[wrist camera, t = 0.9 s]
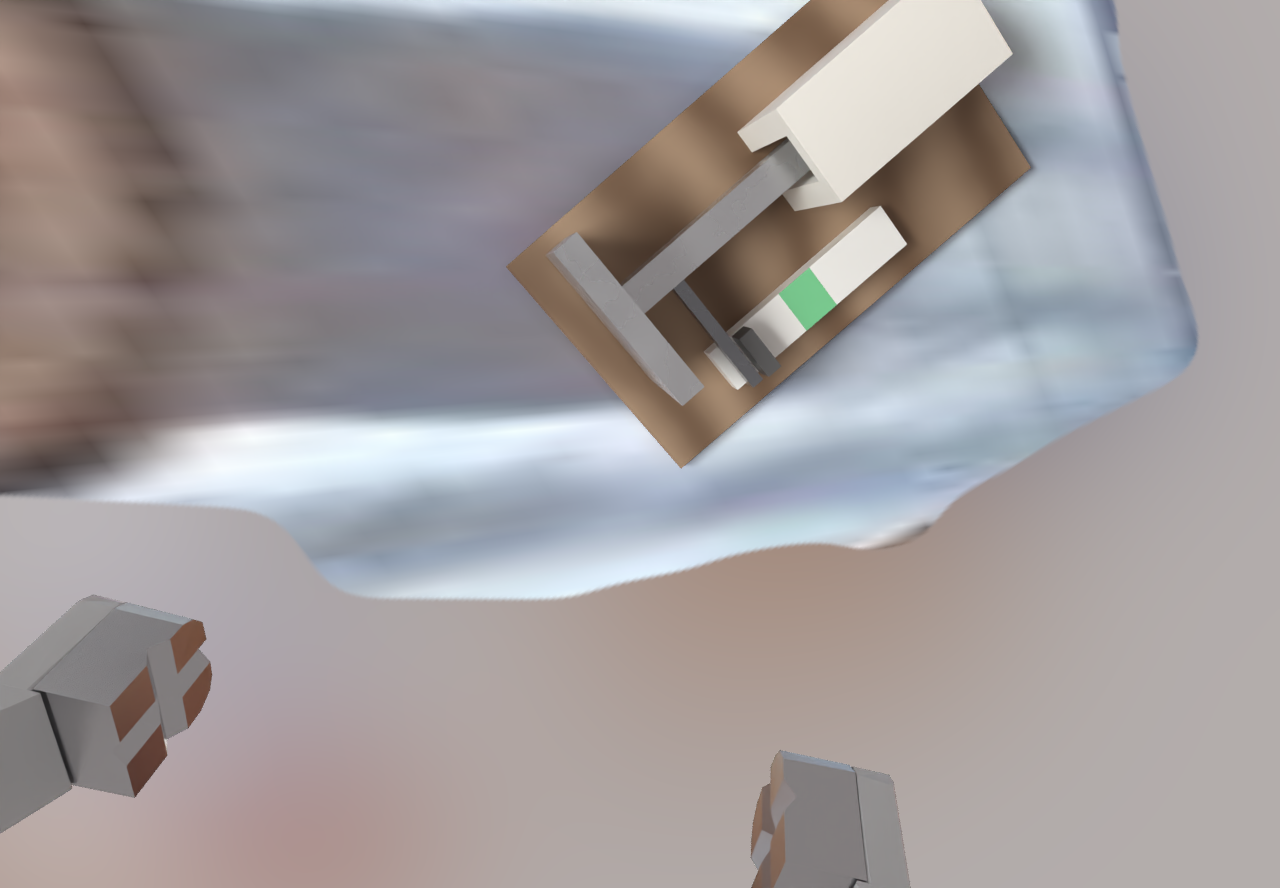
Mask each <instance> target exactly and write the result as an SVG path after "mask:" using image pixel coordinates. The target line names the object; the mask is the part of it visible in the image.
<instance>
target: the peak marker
mask: <svg viewBox="0 0 1280 888" xmlns="http://www.w3.org/2000/svg"><path fill="white" fill-rule="evenodd" d="M732 338H733V340H734V341H735V342H736V343H737V345H738V346H739V347H740V348H741V350H742V351H743V352H744V353H745V355H746V356H747V357H748V358H749V360H750V361H751V362H752V363H753V365H754V366H755V367H756V369H757V370H758V371H759V372H760V373H761V374H763V375H766V376H768V377H770V376H771V375H772V374H773V373H774V372H775V371H777V370H778V369H779V368H780V367H781V365H780V364H779V362H778V361H777V360H776V358H775V357H774V356H773V355H772V353H771V352H770V351H769V350H768V348H767V347H766V346H765V344H764V343H763V342H762V341H761V339H760V338H759V337H758V336H757V334H756V333H755V332H754V330H753V329H752V328H749V327H745V326H743V327H742V328H741V329H740V330H739V331H737V332H736V333H735V334H734V335H733V336H732Z"/></svg>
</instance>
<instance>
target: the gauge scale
mask: <svg viewBox="0 0 1280 888" xmlns="http://www.w3.org/2000/svg"><path fill="white" fill-rule="evenodd" d="M906 245H907V243H906V242H905V240H904V239H903V237H902V236H901V235H900V233H899V232H898V230H897V229H896V227H895V226H894V225H893V223H892V222H891V220H890V219H889V217H888V216H887V214H886V213H885V212H884V210H883V209H882V207H881V206H877V207H870V208H869V209H868V210H867V211H866V212H864V213H863V214H862V215H861V216H860V217H859V218H858V219H856V220H855V221H854V222H853V223H852V224H851V225H849V226H848V227H847V228H846V229H845V230H844V231H842V232H841V233H840V234H839V235H838V236H837V237H836V238H834V239H833V240H832V241H831V242H830V243H829V244H827V245H826V246H825V247H824V248H823V249H822V250H820V251H819V252H818V253H817V254H816V255H815V256H814V257H812V258H811V259H810V260H809V261H808V262H807V263H805V264H804V265H803V266H802V267H801V268H800V269H798V270H797V271H796V272H795V273H794V274H793V275H792V276H790V277H789V278H788V279H787V280H786V281H785V282H783V283H782V284H781V285H780V286H779V287H778V288H777V289H775V290H774V291H773V292H772V293H771V294H770V295H768V296H767V297H766V298H765V299H764V300H763V301H761V302H760V303H759V304H758V305H757V306H756V307H755V308H753V309H752V310H751V311H750V312H749V313H748V314H746V315H745V316H744V317H743V318H742V319H741V320H739V321H738V322H737V323H736V324H735V325H734V326H733V327H731V328H730V329H729V330H728V331H727V332H726V333H727V334H728V336H729V337H730V338H731V339H732V341H733V342H734V343H735V345H736V346H737V347H738V348H739V350H740V351H741V352H742V353H743V355H744V356H745V357H746V358H747V360H748V361H749V362H750V363H751V365H752V366H753V367H754V368H755V370H756V371H757V372H759V371H758V370H757V369H756V367H755V366H754V365H753V363H752V362H751V361H750V360H749V358H748V357H747V356H746V355H745V353H744V352H743V351H742V350H741V348H740V347H739V346H738V345H737V343H736V342H735V341H734V340H733V338H732V336H733V335H734V334H735V333H736V332H737V331H739V330H740V329H741V328H742V327H743V326H745V327H749V328H752V329H753V330H754V332H755V333H756V334H757V336H758V337H759V338H760V339H761V341H762V342H763V343H764V344H765V346H766V347H767V348H768V350H769V351H770V352H771V353H772V355H773V356H774V357H775V358H776V357H777V356H778V355H779V354H780V353H781V352H783V351H784V350H785V349H786V348H787V347H788V346H790V345H791V344H792V343H793V342H794V341H795V340H796V339H798V338H799V337H800V336H801V335H802V334H803V333H805V332H806V331H807V330H808V329H809V328H811V327H812V326H813V325H814V324H815V323H816V322H818V321H819V320H820V319H821V318H822V317H823V316H824V315H826V314H827V313H828V312H829V311H830V310H831V309H833V308H834V307H835V306H836V305H837V304H838V303H839V302H841V301H842V300H843V299H844V298H845V297H846V296H848V295H849V294H850V293H851V292H852V291H853V290H855V289H856V288H857V287H858V286H859V285H860V284H862V283H863V282H864V281H865V280H866V279H867V278H868V277H870V276H871V275H872V274H873V273H874V272H875V271H877V270H878V269H879V268H880V267H881V266H882V265H884V264H885V263H886V262H887V261H888V260H889V259H891V258H892V257H893V256H894V255H895V254H896V253H898V252H899V251H900V250H901V249H902V248H903V247H904V246H906ZM704 353H705V354H706V355H707V357H708V358H709V359H710V360H711V362H712V363H713V364H714V365H715V367H716V368H717V369H718V370H719V371H720V373H721V374H722V375H723V376H724V378H725V379H726V380H727V381H728V383H729V384H730V385H731V386H732V387H734V388H735V389H737V390H738V389H740V388H741V387H742V386H743V385H744V384H745V383H746V382H745V380H744V379H743V378H742V377H741V375H740V374H739V373H738V372H737V370H736V369H735V368H734V367H733V365H732V364H731V363H730V362H729V360H728V359H727V358H726V357H725V356H724V354H723V353H722V352H721V351H720V349H719V348H718V347H717V346H716V344H715V343H713V344H712V345H711V346H709V347H708V348H707V349H706V350H705V351H704Z"/></svg>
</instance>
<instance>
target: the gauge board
mask: <svg viewBox="0 0 1280 888" xmlns="http://www.w3.org/2000/svg"><path fill="white" fill-rule="evenodd" d="M887 1H888V0H810V1H809V2H808V3H807V4H806V5H804V6H803V7H802V8H801V9H800V10H799V11H798V12H796V13H795V14H794V15H793V16H792V17H791V18H790V19H788V20H787V21H786V22H785V23H784V24H783V25H782V26H780V27H779V28H778V29H777V30H776V31H775V32H774V33H772V34H771V35H770V36H769V37H768V38H767V39H766V40H764V41H763V42H762V43H761V44H760V45H759V46H758V47H756V48H755V49H754V50H753V51H752V52H751V53H750V54H748V55H747V56H746V57H745V58H744V59H743V60H742V61H740V62H739V63H738V64H737V65H736V66H735V67H734V68H732V69H731V70H730V71H729V72H728V73H727V74H726V75H724V76H723V77H722V78H721V79H720V80H719V81H718V82H716V83H715V84H714V85H713V86H712V87H711V88H710V89H708V90H707V91H706V92H705V93H704V94H703V95H702V96H700V97H699V98H698V99H697V100H696V101H695V102H694V103H692V104H691V105H690V106H689V107H688V108H687V109H686V110H684V111H683V112H682V113H681V114H680V115H679V116H678V117H676V118H675V119H674V120H673V121H672V122H671V123H670V124H668V125H667V126H666V127H665V128H664V129H663V130H662V131H660V132H659V133H658V134H657V135H656V136H655V137H654V138H652V139H651V140H650V141H649V142H648V143H647V144H646V145H644V146H643V147H642V148H641V149H640V150H639V151H638V152H636V153H635V154H634V155H633V156H632V157H631V158H630V159H628V160H627V161H626V162H625V163H624V164H623V165H622V166H620V167H619V168H618V169H617V170H616V171H615V172H614V173H612V174H611V175H610V176H609V177H608V178H607V179H606V180H604V181H603V182H602V183H601V184H600V185H599V186H598V187H596V188H595V189H594V190H593V191H592V192H591V193H590V194H588V195H587V196H586V197H585V198H584V199H583V200H582V201H580V202H579V203H578V204H577V205H576V206H575V207H574V208H572V209H571V210H570V211H569V212H568V213H567V214H566V215H564V216H563V217H562V218H561V219H560V220H559V221H558V222H556V223H555V224H554V225H553V226H552V227H551V228H550V229H548V230H547V231H546V232H545V233H544V234H543V235H542V236H540V237H539V238H538V239H537V240H536V241H535V242H534V243H532V244H531V245H530V246H529V247H528V248H527V249H526V250H524V251H523V252H522V253H521V254H520V255H519V256H518V257H516V258H515V259H514V260H513V261H512V262H511V263H510V264H508V265H507V266H506V267H507V268H508V269H509V271H510V272H511V273H512V274H513V275H514V276H515V278H516V279H517V280H518V281H519V282H520V283H521V284H522V286H523V287H524V288H525V289H526V290H527V291H528V293H529V294H530V295H531V296H532V297H533V298H534V299H535V301H536V302H537V303H538V304H539V305H540V306H541V308H542V309H543V310H544V311H545V312H546V313H547V314H548V316H549V317H550V318H551V319H552V320H553V321H554V323H555V324H556V325H557V326H558V327H559V328H560V329H561V331H562V332H563V333H564V334H565V335H566V336H567V338H568V339H569V340H570V341H571V342H572V343H573V344H574V346H575V347H576V348H577V349H578V350H579V351H580V353H581V354H582V355H583V356H584V357H585V358H586V359H587V361H588V362H589V363H590V364H591V365H592V366H593V368H594V369H595V370H596V371H597V372H598V373H599V375H600V376H601V377H602V378H603V379H604V380H605V381H606V383H607V384H608V385H609V386H610V387H611V388H612V390H613V391H614V392H615V393H616V394H617V395H618V396H619V398H620V399H621V400H622V401H623V402H624V403H625V405H626V406H627V407H628V408H629V409H630V410H631V411H632V413H633V414H634V415H635V416H636V417H637V418H638V420H639V421H640V422H641V423H642V424H643V425H644V426H645V428H646V429H647V430H648V431H649V432H650V433H651V435H652V436H653V437H654V438H655V439H656V440H657V441H658V443H659V444H660V445H661V446H662V447H663V448H664V450H665V451H666V452H667V453H668V454H669V455H670V456H671V458H672V459H673V460H674V461H675V462H676V463H677V465H678V466H679V467H680V468H682V467H683V466H685V465H686V464H687V463H688V462H689V461H690V460H692V459H693V458H694V457H695V456H696V455H697V454H699V453H700V452H701V451H702V450H703V449H704V448H706V447H707V446H708V445H709V444H710V443H711V442H713V441H714V440H715V439H716V438H717V437H718V436H719V435H721V434H722V433H723V432H724V431H725V430H726V429H728V428H729V427H730V426H731V425H732V424H733V423H735V422H736V421H737V420H738V419H739V418H740V417H742V416H743V415H744V414H745V413H746V412H747V411H749V410H750V409H751V408H752V407H753V406H754V405H756V404H757V403H758V402H759V401H760V400H761V399H763V398H764V397H765V396H766V395H767V394H768V393H769V392H771V391H772V390H773V389H774V388H775V387H776V386H778V385H779V384H780V383H781V382H782V381H783V380H785V379H786V378H787V377H788V376H789V375H790V374H792V373H793V372H794V371H795V370H796V369H797V368H799V367H800V366H801V365H802V364H803V363H804V362H806V361H807V360H808V359H809V358H810V357H811V356H813V355H814V354H815V353H816V352H817V351H818V350H820V349H821V348H822V347H823V346H824V345H825V344H826V343H828V342H829V341H830V340H831V339H832V338H833V337H835V336H836V335H837V334H838V333H839V332H840V331H842V330H843V329H844V328H845V327H846V326H847V325H849V324H850V323H851V322H852V321H853V320H854V319H856V318H857V317H858V316H859V315H860V314H861V313H863V312H864V311H865V310H866V309H867V308H868V307H870V306H871V305H872V304H873V303H874V302H875V301H876V300H878V299H879V298H880V297H881V296H882V295H883V294H885V293H886V292H887V291H888V290H889V289H890V288H892V287H893V286H894V285H895V284H896V283H897V282H899V281H900V280H901V279H902V278H903V277H904V276H906V275H907V274H908V273H909V272H910V271H911V270H913V269H914V268H915V267H916V266H917V265H918V264H920V263H921V262H922V261H923V260H924V259H925V258H926V257H928V256H929V255H930V254H931V253H932V252H933V251H935V250H936V249H937V248H938V247H939V246H940V245H942V244H943V243H944V242H945V241H946V240H947V239H949V238H950V237H951V236H952V235H953V234H954V233H956V232H957V231H958V230H959V229H960V228H961V227H963V226H964V225H965V224H966V223H967V222H968V221H970V220H971V219H972V218H973V217H974V216H975V215H976V214H978V213H979V212H980V211H981V210H982V209H983V208H985V207H986V206H987V205H988V204H989V203H990V202H992V201H993V200H994V199H995V198H996V197H997V196H999V195H1000V194H1001V193H1002V192H1003V191H1004V190H1006V189H1007V188H1008V187H1009V186H1010V185H1011V184H1013V183H1014V182H1015V181H1016V180H1017V179H1018V178H1020V177H1021V176H1022V175H1023V174H1024V173H1025V172H1027V171H1028V170H1029V169H1030V168H1031V167H1030V165H1029V164H1028V162H1027V161H1026V159H1025V157H1024V156H1023V154H1022V153H1021V151H1020V149H1019V148H1018V146H1017V145H1016V143H1015V141H1014V140H1013V138H1012V137H1011V135H1010V133H1009V132H1008V130H1007V128H1006V127H1005V125H1004V124H1003V122H1002V120H1001V119H1000V117H999V116H998V114H997V112H996V111H995V109H994V108H993V106H992V104H991V103H990V101H989V100H988V98H987V96H986V95H985V93H984V92H983V90H982V88H981V87H980V85H979V84H978V85H977V86H975V87H974V88H973V89H972V90H971V91H970V92H968V93H967V94H966V95H965V96H964V97H963V98H962V99H960V100H959V101H958V102H957V103H956V104H955V105H953V106H952V107H951V108H950V109H949V110H948V111H947V112H945V113H944V114H943V115H942V116H941V117H940V118H938V119H937V120H936V121H935V122H934V123H933V124H931V125H930V126H929V127H928V128H927V129H926V130H925V131H923V132H922V133H921V134H920V135H919V136H918V137H916V138H915V139H914V140H913V141H912V142H911V143H910V144H908V145H907V146H906V147H905V148H904V149H903V150H901V151H900V152H899V153H898V154H897V155H896V156H895V157H893V158H892V159H891V160H890V161H889V162H888V163H886V164H885V165H884V166H883V167H882V168H881V169H879V170H878V171H877V172H876V173H875V174H874V175H873V176H871V177H870V178H869V179H868V180H867V181H866V182H864V183H863V184H862V185H861V186H860V187H859V188H858V189H856V190H855V191H854V192H853V193H852V194H851V195H849V196H848V197H847V198H846V199H845V200H844V201H843V202H840V203H835V204H830V205H824V206H819V207H814V208H809V209H804V210H799V211H794V209H793V208H792V207H791V205H790V204H789V203H788V201H787V200H786V199H785V197H784V196H783V194H782V195H781V196H779V197H778V198H777V199H776V200H775V201H774V202H772V203H771V204H770V205H769V206H768V207H767V208H766V209H764V210H763V211H762V212H761V213H760V214H759V215H758V216H756V217H755V218H754V219H753V220H752V221H751V222H749V223H748V224H747V225H746V226H745V227H744V228H743V229H741V230H740V231H739V232H738V233H737V234H736V235H734V236H733V237H732V238H731V239H730V240H729V241H728V242H726V243H725V244H724V245H723V246H722V247H721V248H719V249H718V250H717V251H716V252H715V253H714V254H713V255H711V256H710V257H709V258H708V259H707V260H706V261H705V262H703V263H702V264H701V265H700V266H699V267H698V268H696V269H695V270H694V271H693V272H692V273H691V274H690V275H688V276H687V277H686V278H685V279H684V281H685V282H686V283H687V284H688V286H689V287H690V288H691V289H692V291H693V292H694V293H695V294H696V296H697V297H698V298H699V299H700V301H701V302H702V303H703V304H704V306H705V307H706V308H707V309H708V311H709V312H710V313H711V314H712V316H713V317H714V318H715V319H716V321H717V322H718V323H719V324H720V326H721V327H722V328H723V329H724V331H725V332H727V331H728V330H729V329H730V328H731V327H733V326H734V325H735V324H736V323H737V322H738V321H739V320H741V319H742V318H743V317H744V316H745V315H746V314H748V313H749V312H750V311H751V310H752V309H753V308H755V307H756V306H757V305H758V304H759V303H760V302H761V301H763V300H764V299H765V298H766V297H767V296H768V295H770V294H771V293H772V292H773V291H774V290H775V289H777V288H778V287H779V286H780V285H781V284H782V283H783V282H785V281H786V280H787V279H788V278H789V277H790V276H792V275H793V274H794V273H795V272H796V271H797V270H798V269H800V268H801V267H802V266H803V265H804V264H805V263H807V262H808V261H809V260H810V259H811V258H812V257H814V256H815V255H816V254H817V253H818V252H819V251H820V250H822V249H823V248H824V247H825V246H826V245H827V244H829V243H830V242H831V241H832V240H833V239H834V238H836V237H837V236H838V235H839V234H840V233H841V232H842V231H844V230H845V229H846V228H847V227H848V226H849V225H851V224H852V223H853V222H854V221H855V220H856V219H858V218H859V217H860V216H861V215H862V214H863V213H864V212H866V211H867V210H868V209H869V208H870V207H877V206H881V207H882V209H883V210H884V212H885V213H886V214H887V216H888V217H889V219H890V220H891V222H892V223H893V225H894V226H895V227H896V229H897V230H898V232H899V233H900V235H901V236H902V237H903V239H904V240H905V242H906V243H907V245H906V246H904V247H903V248H902V249H901V250H900V251H899V252H898V253H896V254H895V255H894V256H893V257H892V258H891V259H889V260H888V261H887V262H886V263H885V264H884V265H882V266H881V267H880V268H879V269H878V270H877V271H875V272H874V273H873V274H872V275H871V276H870V277H868V278H867V279H866V280H865V281H864V282H863V283H862V284H860V285H859V286H858V287H857V288H856V289H855V290H853V291H852V292H851V293H850V294H849V295H848V296H846V297H845V298H844V299H843V300H842V301H841V302H839V303H838V304H837V305H836V306H835V307H834V308H833V309H831V310H830V311H829V312H828V313H827V314H826V315H824V316H823V317H822V318H821V319H820V320H819V321H818V322H816V323H815V324H814V325H813V326H812V327H811V328H809V329H808V330H807V331H806V332H805V333H803V334H802V335H801V336H800V337H799V338H798V339H796V340H795V341H794V342H793V343H792V344H791V345H790V346H788V347H787V348H786V349H785V350H784V351H783V352H781V353H780V354H779V355H778V356H777V357H776V360H777V361H778V362H779V364H780V365H781V367H780V368H779V369H778V370H777V371H775V372H774V373H773V374H772V375H771V376H770V377H768V376H766V375H763V374H761V373H760V372H758V373H759V375H760V376H761V377H762V378H763V380H762V381H761V382H760V383H758V384H757V385H756V386H755V387H754V388H752V387H751V386H749V385H748V384H747V383H745V384H744V385H743V386H742V387H741V388H740V389H738V390H737V389H735V388H734V387H732V386H731V385H730V384H729V383H728V381H727V380H726V379H725V378H724V376H723V375H722V374H721V373H720V371H719V370H718V369H717V368H716V367H715V365H714V364H713V363H712V362H711V360H710V359H709V358H708V357H707V355H706V354H705V353H704V351H705V350H706V349H707V348H708V347H709V346H711V345H712V344H713V343H714V342H713V341H712V339H711V338H710V337H709V336H708V334H707V333H706V332H705V331H704V329H703V328H702V327H701V326H700V324H699V323H698V322H697V321H696V320H695V318H694V317H693V316H692V315H691V313H690V312H689V311H688V310H687V308H686V307H685V306H684V305H683V303H682V302H681V301H680V300H679V298H678V297H677V296H676V295H675V293H674V292H673V291H672V290H671V291H670V292H669V293H668V294H666V295H665V296H664V297H663V298H662V299H661V300H660V301H658V302H657V303H656V304H655V305H654V306H653V307H652V308H650V309H649V310H648V311H647V312H646V313H645V315H646V316H647V318H648V319H649V320H650V321H651V322H652V324H653V325H654V326H655V327H656V328H657V330H658V331H659V332H660V333H661V335H662V336H663V337H664V338H665V339H666V341H667V342H668V343H669V344H670V345H671V347H672V348H673V349H674V350H675V351H676V353H677V354H678V355H679V356H680V358H681V359H682V360H683V361H684V362H685V364H686V365H687V366H688V367H689V368H690V370H691V371H692V372H693V373H694V375H695V376H696V377H697V378H698V379H699V381H700V382H701V383H702V384H703V385H704V388H703V389H702V390H700V391H699V392H698V393H697V394H696V395H695V396H693V397H692V398H691V399H690V400H689V401H688V402H687V403H685V404H684V405H683V406H682V405H681V404H680V403H678V402H677V401H676V400H675V399H674V398H672V397H671V396H670V395H669V394H668V393H666V392H665V391H664V390H663V389H662V388H660V387H659V386H658V385H657V384H656V383H654V382H653V381H652V380H651V379H650V378H649V377H648V376H647V375H646V373H645V372H644V371H643V370H642V369H641V367H640V366H639V365H638V364H637V363H636V362H635V360H634V359H633V358H632V357H631V356H630V354H629V353H628V352H627V351H626V350H625V349H624V347H623V346H622V345H621V344H620V343H619V341H618V340H617V339H616V338H615V337H614V336H613V334H612V333H611V332H610V331H609V330H608V328H607V327H606V326H605V325H604V324H603V322H602V321H601V320H600V319H599V318H598V317H597V315H596V314H595V313H594V312H593V311H592V309H591V308H590V307H589V306H588V305H587V304H586V302H585V301H584V300H583V299H582V298H581V296H580V295H579V294H578V293H577V292H576V291H575V289H574V288H573V287H572V286H571V285H570V283H569V282H568V281H567V280H566V279H565V278H564V276H563V275H562V274H561V273H560V272H559V270H558V269H557V268H556V267H555V266H554V265H553V263H552V262H551V261H550V260H549V259H548V257H547V256H546V254H547V253H548V252H549V251H551V250H552V249H553V248H554V247H555V246H556V245H557V244H559V243H560V242H561V241H562V240H563V239H564V238H566V237H568V236H570V235H572V234H574V233H576V232H577V233H578V234H579V235H580V236H581V238H582V239H583V240H584V241H585V242H586V244H587V245H588V246H589V247H590V248H591V250H592V251H593V252H594V253H595V255H596V256H597V257H598V258H599V259H600V261H601V262H602V263H603V264H604V265H605V267H606V268H607V269H608V270H609V271H610V273H611V274H612V275H613V276H614V278H615V279H616V280H617V281H618V282H619V284H620V283H621V282H622V281H623V280H625V279H626V278H627V277H628V276H629V275H630V274H632V273H633V272H634V271H635V270H636V269H637V268H638V267H640V266H641V265H642V264H643V263H644V262H645V261H646V260H648V259H649V258H650V257H651V256H652V255H653V254H654V253H656V252H657V251H658V250H659V249H660V248H661V247H663V246H664V245H665V244H666V243H667V242H668V241H669V240H671V239H672V238H673V237H674V236H675V235H676V234H677V233H679V232H680V231H681V230H682V229H683V228H684V227H686V226H687V225H688V224H689V223H690V222H691V221H692V220H694V219H695V218H696V217H697V216H698V215H699V214H700V213H702V212H703V211H704V210H705V209H706V208H707V207H709V206H710V205H711V204H712V203H713V202H714V201H715V200H717V199H718V198H719V197H720V196H721V195H722V194H723V193H725V192H726V191H727V190H728V189H729V188H730V187H731V186H733V185H734V184H735V183H736V182H737V181H738V180H740V179H741V178H742V177H743V176H744V175H745V174H746V173H748V172H749V171H750V170H751V169H752V168H753V167H754V166H756V165H757V164H758V163H759V162H760V161H761V160H763V159H764V158H765V157H766V156H767V155H768V154H769V153H771V152H772V151H773V150H774V149H775V148H776V147H777V146H779V145H780V144H781V143H782V142H783V141H784V140H785V139H787V138H788V137H787V136H785V137H783V138H781V139H779V140H777V141H775V142H773V143H771V144H769V145H767V146H764V147H762V148H760V149H758V150H756V151H754V152H751V151H750V149H749V148H748V146H747V145H746V144H745V142H744V141H743V140H742V138H741V137H740V135H739V134H738V133H737V132H738V131H739V130H740V129H741V128H743V127H744V126H745V125H746V124H747V123H748V122H749V121H751V120H752V119H753V118H754V117H755V116H756V115H757V114H759V113H760V112H761V111H762V110H763V109H764V108H766V107H767V106H768V105H769V104H770V103H771V102H772V101H774V100H775V99H776V98H777V97H778V96H779V95H780V94H782V93H783V92H784V91H785V90H786V89H787V88H788V87H790V86H791V85H792V84H793V83H794V82H795V81H796V80H798V79H799V78H800V77H801V76H802V75H803V74H804V73H806V72H807V71H808V70H809V69H810V68H811V67H813V66H814V65H815V64H816V63H817V62H818V61H819V60H821V59H822V58H823V57H824V56H825V55H826V54H827V53H829V52H830V51H831V50H832V49H833V48H834V47H835V46H837V45H838V44H839V43H840V42H841V41H842V40H843V39H845V38H846V37H847V36H848V35H849V34H850V33H851V32H853V31H854V30H855V29H856V28H857V27H858V26H860V25H861V24H862V23H863V22H864V21H865V20H866V19H868V18H869V17H870V16H871V15H872V14H873V13H874V12H876V11H877V10H878V9H879V8H880V7H881V6H882V5H884V4H885V3H886V2H887Z"/></svg>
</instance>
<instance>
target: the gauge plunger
mask: <svg viewBox="0 0 1280 888" xmlns="http://www.w3.org/2000/svg"><path fill="white" fill-rule="evenodd" d="M809 170H810V168H809V167H808V165H807V164H806V163H805V161H804V160H803V158H802V157H801V156H800V154H799V153H798V151H797V150H796V149H795V147H794V146H793V144H792V143H791V142H790V140H789V139H788V138H787V139H785V140H784V141H783V142H782V143H781V144H780V145H779V146H777V147H776V148H775V149H774V150H773V151H772V152H771V153H769V154H768V155H767V156H766V157H765V158H764V159H763V160H761V161H760V162H759V163H758V164H757V165H756V166H754V167H753V168H752V169H751V170H750V171H749V172H748V173H746V174H745V175H744V176H743V177H742V178H741V179H740V180H738V181H737V182H736V183H735V184H734V185H733V186H731V187H730V188H729V189H728V190H727V191H726V192H725V193H723V194H722V195H721V196H720V197H719V198H718V199H717V200H715V201H714V202H713V203H712V204H711V205H710V206H709V207H707V208H706V209H705V210H704V211H703V212H702V213H700V214H699V215H698V216H697V217H696V218H695V219H694V220H692V221H691V222H690V223H689V224H688V225H687V226H686V227H684V228H683V229H682V230H681V231H680V232H679V233H677V234H676V235H675V236H674V237H673V238H672V239H671V240H669V241H668V242H667V243H666V244H665V245H664V246H663V247H661V248H660V249H659V250H658V251H657V252H656V253H654V254H653V255H652V256H651V257H650V258H649V259H648V260H646V261H645V262H644V263H643V264H642V265H641V266H640V267H638V268H637V269H636V270H635V271H634V272H633V273H632V274H630V275H629V276H628V277H627V278H626V279H625V280H623V281H622V282H621V283H620V284H619V282H618V281H617V280H616V279H615V278H614V276H613V275H612V274H611V273H610V271H609V270H608V269H607V268H606V267H605V265H604V264H603V263H602V262H601V261H600V259H599V258H598V257H597V256H596V255H595V253H594V252H593V251H592V250H591V248H590V247H589V246H588V245H587V244H586V242H585V241H584V240H583V239H582V238H581V236H580V235H579V234H578V233H577V232H576V233H574V234H572V235H570V236H568V237H566V238H564V239H563V240H562V241H561V242H560V243H559V244H557V245H556V246H555V247H554V248H553V249H552V250H551V251H549V252H548V253H547V254H546V256H547V257H548V259H549V260H550V261H551V262H552V263H553V265H554V266H555V267H556V268H557V269H558V270H559V272H560V273H561V274H562V275H563V276H564V278H565V279H566V280H567V281H568V282H569V283H570V285H571V286H572V287H573V288H574V289H575V291H576V292H577V293H578V294H579V295H580V296H581V298H582V299H583V300H584V301H585V302H586V304H587V305H588V306H589V307H590V308H591V309H592V311H593V312H594V313H595V314H596V315H597V317H598V318H599V319H600V320H601V321H602V322H603V324H604V325H605V326H606V327H607V328H608V330H609V331H610V332H611V333H612V334H613V336H614V337H615V338H616V339H617V340H618V341H619V343H620V344H621V345H622V346H623V347H624V349H625V350H626V351H627V352H628V353H629V354H630V356H631V357H632V358H633V359H634V360H635V362H636V363H637V364H638V365H639V366H640V367H641V369H642V370H643V371H644V372H645V373H646V375H647V376H648V377H649V378H650V379H651V380H652V381H653V382H654V383H656V384H657V385H658V386H659V387H660V388H662V389H663V390H664V391H665V392H666V393H668V394H669V395H670V396H671V397H672V398H674V399H675V400H676V401H677V402H678V403H680V404H681V405H682V406H683V405H684V404H685V403H687V402H688V401H689V400H690V399H691V398H692V397H693V396H695V395H696V394H697V393H698V392H699V391H700V390H702V389H703V388H704V385H703V384H702V383H701V382H700V381H699V379H698V378H697V377H696V376H695V375H694V373H693V372H692V371H691V370H690V368H689V367H688V366H687V365H686V364H685V362H684V361H683V360H682V359H681V358H680V356H679V355H678V354H677V353H676V351H675V350H674V349H673V348H672V347H671V345H670V344H669V343H668V342H667V341H666V339H665V338H664V337H663V336H662V335H661V333H660V332H659V331H658V330H657V328H656V327H655V326H654V325H653V324H652V322H651V321H650V320H649V319H648V318H647V316H646V315H645V313H646V312H647V311H648V310H649V309H650V308H652V307H653V306H654V305H655V304H656V303H657V302H658V301H660V300H661V299H662V298H663V297H664V296H665V295H666V294H668V293H669V292H670V291H671V290H672V291H673V292H674V293H675V295H676V296H677V297H678V298H679V300H680V301H681V302H682V303H683V305H684V306H685V307H686V308H687V310H688V311H689V312H690V313H691V315H692V316H693V317H694V318H695V320H696V321H697V322H698V323H699V324H700V326H701V327H702V328H703V329H704V331H705V332H706V333H707V334H708V336H709V337H710V338H711V339H712V341H713V342H714V343H715V344H716V346H717V347H718V348H719V349H720V351H721V352H722V353H723V354H724V356H725V357H726V358H727V359H728V360H729V362H730V363H731V364H732V365H733V367H734V368H735V369H736V370H737V372H738V373H739V374H740V375H741V377H742V378H743V379H744V380H745V382H746V383H747V384H748V385H749V386H751V387H752V388H754V387H755V386H756V385H757V384H758V383H760V382H761V381H762V380H763V378H762V377H761V376H760V375H759V373H758V372H757V371H756V370H755V368H754V367H753V366H752V365H751V363H750V362H749V361H748V360H747V358H746V357H745V356H744V355H743V353H742V352H741V351H740V350H739V348H738V347H737V346H736V345H735V343H734V342H733V341H732V339H731V338H730V337H729V336H728V334H727V333H726V332H725V331H724V329H723V328H722V327H721V326H720V324H719V323H718V322H717V321H716V319H715V318H714V317H713V316H712V314H711V313H710V312H709V311H708V309H707V308H706V307H705V306H704V304H703V303H702V302H701V301H700V299H699V298H698V297H697V296H696V294H695V293H694V292H693V291H692V289H691V288H690V287H689V286H688V284H687V283H686V282H685V281H684V279H685V278H686V277H687V276H688V275H690V274H691V273H692V272H693V271H694V270H695V269H696V268H698V267H699V266H700V265H701V264H702V263H703V262H705V261H706V260H707V259H708V258H709V257H710V256H711V255H713V254H714V253H715V252H716V251H717V250H718V249H719V248H721V247H722V246H723V245H724V244H725V243H726V242H728V241H729V240H730V239H731V238H732V237H733V236H734V235H736V234H737V233H738V232H739V231H740V230H741V229H743V228H744V227H745V226H746V225H747V224H748V223H749V222H751V221H752V220H753V219H754V218H755V217H756V216H758V215H759V214H760V213H761V212H762V211H763V210H764V209H766V208H767V207H768V206H769V205H770V204H771V203H772V202H774V201H775V200H776V199H777V198H778V197H779V196H781V195H782V194H783V193H784V192H785V191H786V190H787V189H789V188H790V187H791V186H792V185H793V184H794V183H796V182H797V181H798V180H799V179H800V178H801V177H802V176H804V175H805V174H806V173H807V172H808V171H809Z"/></svg>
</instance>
